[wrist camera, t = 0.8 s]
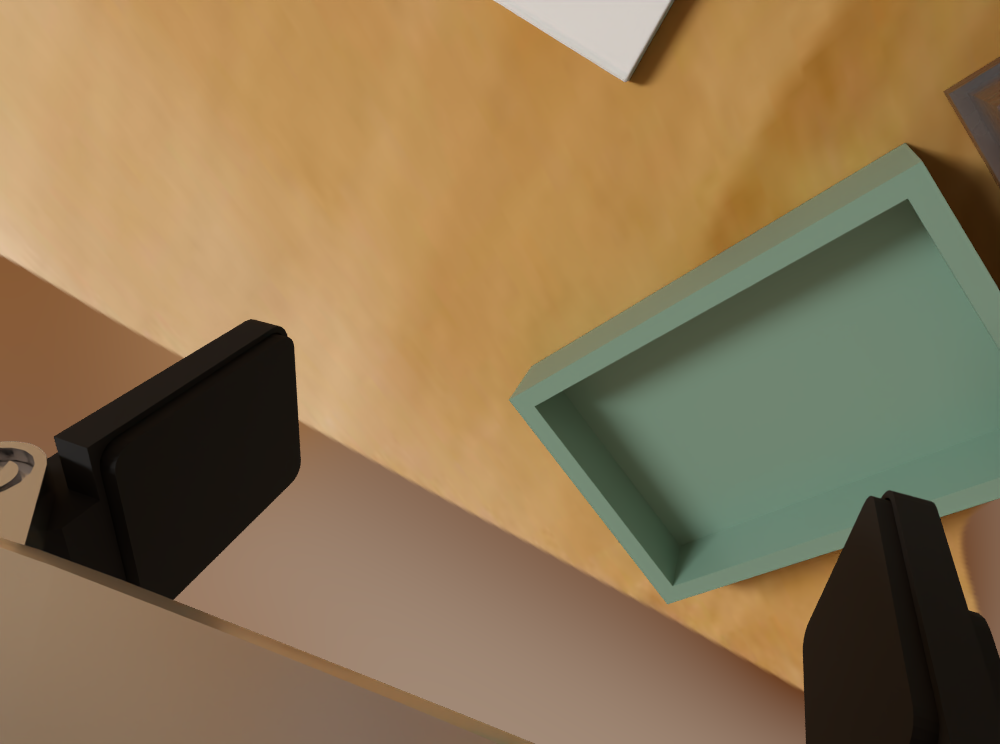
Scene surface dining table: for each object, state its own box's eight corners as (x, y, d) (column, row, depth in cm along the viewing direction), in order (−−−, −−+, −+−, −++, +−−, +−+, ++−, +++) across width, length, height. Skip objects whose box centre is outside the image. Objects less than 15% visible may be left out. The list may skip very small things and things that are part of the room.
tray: (905, 142, 29) (922, 160, 26) (1068, 415, 32) (1104, 465, 29) (531, 366, 40) (509, 399, 37) (676, 556, 43) (667, 604, 40)
